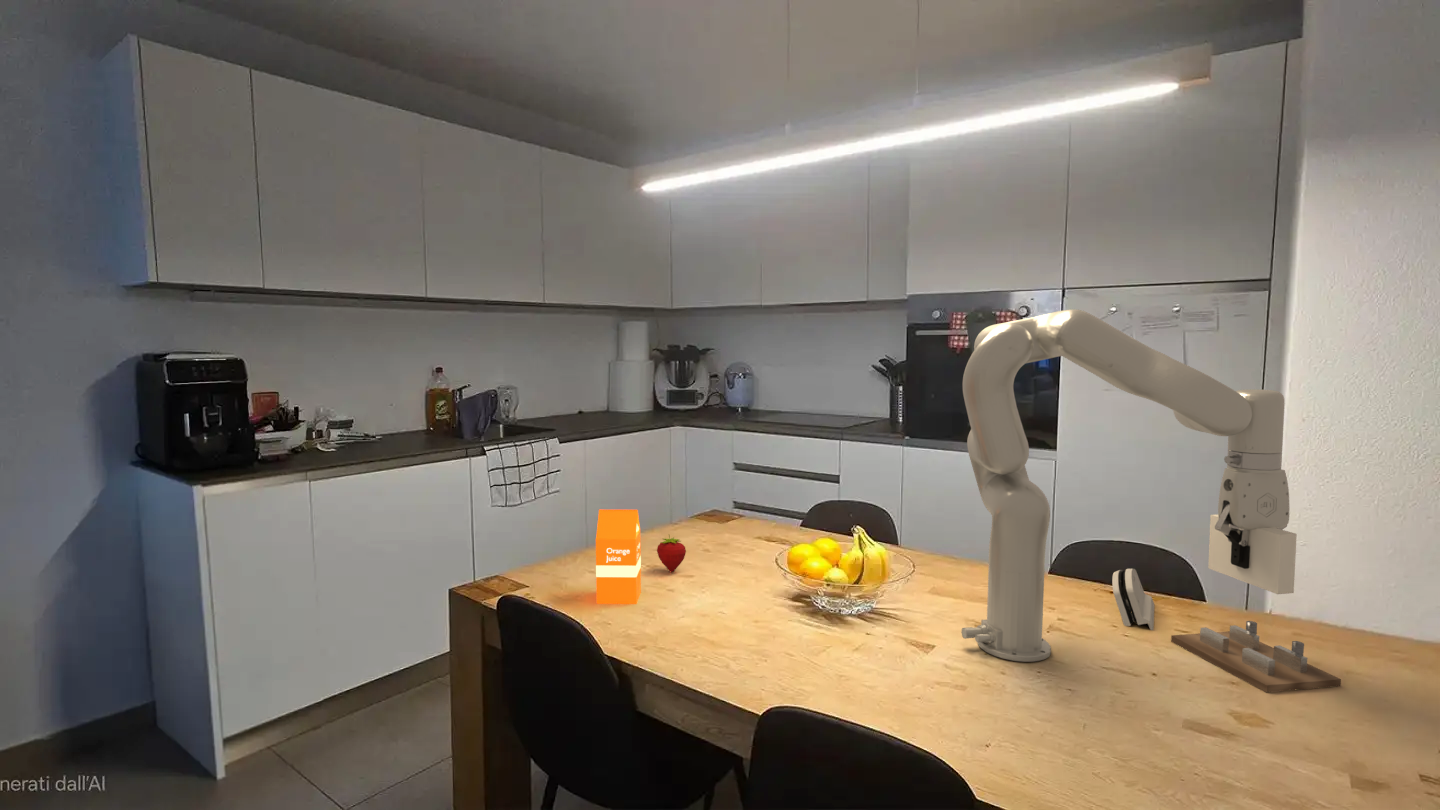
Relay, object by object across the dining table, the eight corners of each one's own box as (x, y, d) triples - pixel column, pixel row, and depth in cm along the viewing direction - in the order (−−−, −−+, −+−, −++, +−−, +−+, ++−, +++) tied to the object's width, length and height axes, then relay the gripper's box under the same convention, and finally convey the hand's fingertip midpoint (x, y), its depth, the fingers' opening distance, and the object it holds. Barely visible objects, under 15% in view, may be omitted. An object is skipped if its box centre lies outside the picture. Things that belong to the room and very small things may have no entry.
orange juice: (636, 604, 155) (635, 513, 154) (596, 604, 156) (594, 513, 154) (641, 591, 163) (640, 505, 162) (602, 591, 163) (601, 505, 162)
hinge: (1153, 630, 140) (1135, 581, 141) (1126, 634, 143) (1109, 585, 144) (1154, 604, 155) (1138, 559, 156) (1130, 607, 157) (1114, 563, 158)
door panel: (1277, 594, 118) (1280, 534, 117) (1208, 568, 132) (1210, 514, 131) (1293, 593, 118) (1296, 533, 117) (1222, 567, 132) (1225, 514, 131)
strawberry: (679, 577, 173) (679, 537, 172) (652, 573, 176) (651, 533, 175) (690, 570, 178) (690, 531, 177) (664, 566, 181) (663, 527, 181)
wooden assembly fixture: (1266, 692, 116) (1268, 661, 115) (1171, 641, 135) (1172, 614, 135) (1340, 686, 118) (1343, 655, 117) (1236, 636, 138) (1237, 610, 137)
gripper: (1230, 467, 118) (1225, 575, 120) (1316, 462, 121) (1310, 569, 122) (1194, 459, 126) (1190, 562, 127) (1275, 456, 128) (1271, 556, 130)
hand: (1249, 564), depth 125 cm, fingers closed on door panel, 3 cm apart
